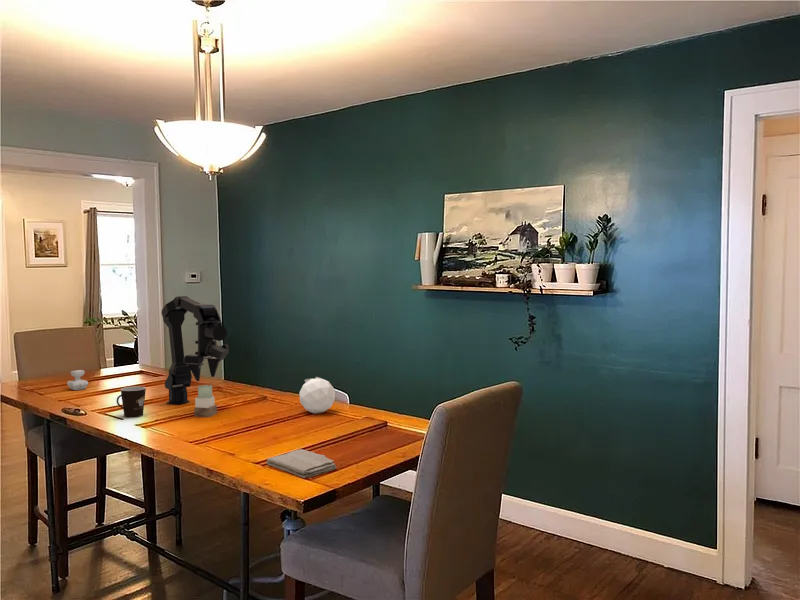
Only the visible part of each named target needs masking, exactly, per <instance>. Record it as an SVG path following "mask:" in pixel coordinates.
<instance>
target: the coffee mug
mask: <svg viewBox="0 0 800 600" xmlns="http://www.w3.org/2000/svg"><path fill="white" fill-rule="evenodd" d="M146 390H147V387H145V386H125V387H122V388H121V389H120V395H118V396H117V398H116V404H117V406H118V407H120V408H121V409H122V410H123V415H124V417H125V418H139V417H143V415H144V410H145V409H144V408H145V398H146ZM120 398H121V402H122V405H121V404H120V403H119V399H120Z"/></svg>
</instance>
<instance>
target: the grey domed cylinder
mask: <svg viewBox="0 0 800 600" xmlns="http://www.w3.org/2000/svg"><path fill="white" fill-rule="evenodd" d="M212 396H213V385H212V384H202V385H201V384H200V385H198V386H197V397H198V398H211V397H212Z"/></svg>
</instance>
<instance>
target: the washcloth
mask: <svg viewBox="0 0 800 600" xmlns="http://www.w3.org/2000/svg"><path fill="white" fill-rule="evenodd" d="M334 461H335V460H334V459H330V458H329V457H326V455H324V454H319V453H316V452H313V451H309V450H305V449H302V448H301V449H296V450H292V451H290V452H289V451H288V452H287V453H284V454H280V455H275V456H273V457H269V458H267V460H266V465H268V466H271V467H273V468H275V469H279V470H282V471H284V472H288V473H290V474H292V475H295V476H297V477H300V478H303V479H306V478H310V477H315V476H318V475H321V474H324V473H328V472H331V471H334V470H336V469H337V466H336V463H335V462H334Z"/></svg>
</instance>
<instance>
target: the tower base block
mask: <svg viewBox="0 0 800 600" xmlns="http://www.w3.org/2000/svg"><path fill="white" fill-rule="evenodd" d="M193 411H194V415H193V416H194V417H195V418H196V417H197V418H198V417H199V418H210V417H213V416H215V415H217V414H218V405H217V404H215V405H214V406H212V407H209V408H197V407H195V406H194V410H193Z"/></svg>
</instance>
